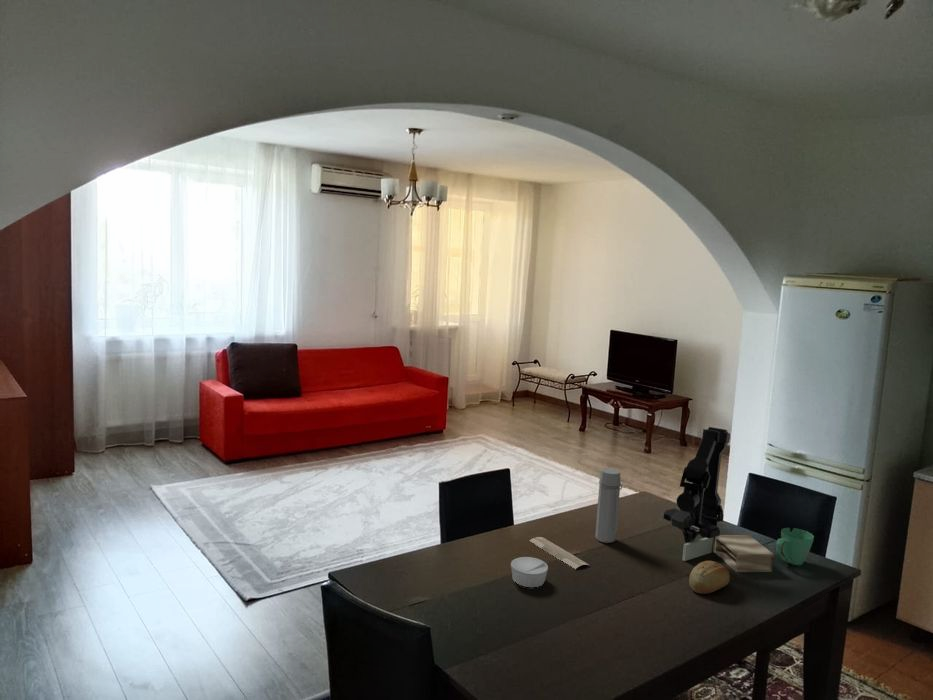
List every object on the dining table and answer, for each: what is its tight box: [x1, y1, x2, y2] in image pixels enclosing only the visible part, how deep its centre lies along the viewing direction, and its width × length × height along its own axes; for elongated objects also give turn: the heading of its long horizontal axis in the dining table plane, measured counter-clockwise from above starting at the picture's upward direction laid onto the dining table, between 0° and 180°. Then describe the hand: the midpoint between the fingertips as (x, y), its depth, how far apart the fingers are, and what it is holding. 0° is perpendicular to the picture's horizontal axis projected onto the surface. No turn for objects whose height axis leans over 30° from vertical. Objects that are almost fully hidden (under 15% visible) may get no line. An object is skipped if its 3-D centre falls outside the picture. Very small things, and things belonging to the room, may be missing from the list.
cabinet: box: [713, 534, 774, 573], centre depth 220 cm, size 15×12×6 cm
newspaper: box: [529, 536, 590, 571], centre depth 219 cm, size 24×7×2 cm, turn 33°
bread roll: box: [688, 560, 731, 595], centre depth 200 cm, size 10×15×8 cm, turn 129°
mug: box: [775, 527, 815, 566], centre depth 220 cm, size 15×10×10 cm
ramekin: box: [510, 556, 549, 588], centre depth 199 cm, size 11×11×5 cm
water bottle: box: [595, 467, 623, 544], centre depth 230 cm, size 9×8×25 cm
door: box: [681, 537, 715, 562], centre depth 222 cm, size 15×1×6 cm, turn 124°
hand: (688, 547), depth 222 cm, fingers closed
